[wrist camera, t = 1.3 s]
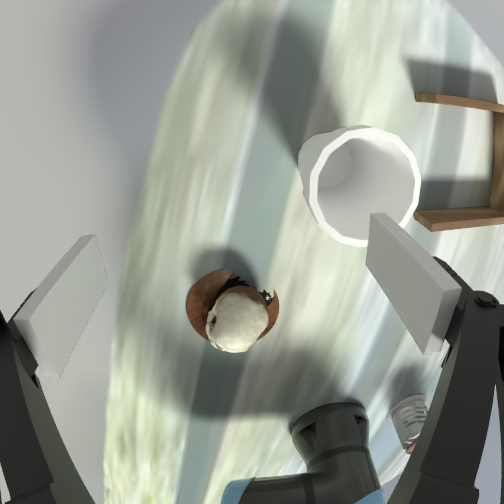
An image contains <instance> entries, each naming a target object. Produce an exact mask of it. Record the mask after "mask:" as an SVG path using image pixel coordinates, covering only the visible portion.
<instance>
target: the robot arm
mask: <svg viewBox="0 0 504 504" xmlns="http://www.w3.org/2000/svg"><path fill="white" fill-rule="evenodd" d="M366 266H367V267H368V269H369V270H370V272H371V273H372V275H373V276H374V278H375V279H376V281H377V282H378V284H379V285H380V287H381V288H382V290H383V291H384V293H385V294H386V296H387V297H388V299H389V300H390V302H391V303H392V305H393V307H394V308H395V310H396V311H397V313H398V314H399V316H400V318H401V319H402V321H403V322H404V324H405V326H406V327H407V329H408V331H409V332H410V334H411V335H412V337H413V339H414V340H415V342H416V344H417V345H418V347H419V349H420V350H421V352H422V354H423V355H426V354H430V353H434V352H438V351H440V350H441V348H442V345H443V342H444V340H445V339H446V340H447V342H448V343H449V344H450V346H449V349H448V351H447V354H446V356H445V358H444V361H443V363H442V365H441V367H442V368H443V369H442V372H441V375H440V378H439V382H438V385H437V388H436V391H435V394H434V397H433V400H432V403H431V406H430V408H429V411H428V414H427V417H426V419H425V422H424V425H423V427H422V430H421V432H420V435H419V437H418V440H417V442H416V444H415V447H414V449H413V451H412V454H411V456H410V458H409V460H408V462H407V465H406V467H405V469H404V471H403V473H402V475H401V477H400V479H399V481H398V483H397V485H396V487H395V489H394V491H393V493H392V495H391V497H390V499H389V500H388V502H387V504H477V502H478V498H479V489H477V488H475V487H474V482H475V478H476V475H477V471H478V468H479V464H480V461H481V457H482V453H483V449H484V444H485V440H486V436H487V431H488V426H489V420H490V415H491V410H492V404H493V397H494V390H495V384H496V391H497V399H498V408H499V419H500V432H501V453H502V454H501V457H502V478H501V479H502V481H501V503H500V504H504V304H499V301H498V300H497V299H496V298H495V297H494V296H493V295H491V294H489V293H487V292H484V291H479V290H478V291H473V290H472V289H471V288H470V287H469V286H468V284H467V283H466V282H465V281H464V280H463V279H462V278H461V277H460V276H459V275H458V276H457V273H456V272H455V271H454V270H452V268H451V267H450V266H449V265H448V264H447V263H446V262H444V261H443V260H441V259H439V258H437V257H432V256H431V255H430V254H429V253H428V252H427V251H426V250H425V249H424V248H422V247H421V246H420V245H419V244H418V243H417V242H416V241H415V240H414V239H413V238H412V237H411V236H410V235H409V234H408V233H407V232H406V231H405V230H404V229H402V228H401V227H400V226H399V225H398V224H397V223H396V222H395V221H394V220H393V219H392V218H390V217H389V216H388V215H387V214H386V213H385V212H384V213H371V214H370V226H369V237H368V246H367V255H366ZM108 284H109V281H108V278H107V275H106V271H105V268H104V265H103V261H102V258H101V254H100V251H99V247H98V243H97V239H96V235H86V236H82V237H81V238H80V239H79V240H78V241H77V242H76V243H75V244H74V245H73V247H72V248H71V249H70V250H69V251H68V252H67V253H66V254H65V256H64V257H63V258H62V259H61V260H60V261H59V262H58V264H57V265H56V266H55V267H54V268H53V270H52V271H51V272H50V273H49V274H48V275H47V277H46V278H45V279H44V280H43V281H42V283H41V284H40V285H39V286H38V288H36V289H35V290H34V291H32V292H31V293H30V294H29V296H28V297H27V298H26V299H25V302H23V303H22V304H21V306H20V308H18V310H17V311H16V312H15V313H14V315H13V316H12V317H11V319H10V320H9V321H8V323H6V321H5V319H4V317H3V315H2V313H1V311H0V463H1V467H2V470H3V474H4V477H5V480H6V484H7V487H8V490H9V493H10V497H11V500H10V501H8V502H5V504H95V502H94V501H93V499H92V497H91V496H90V494H89V492H88V490H87V488H86V487H85V485H84V483H83V481H82V480H81V477H80V476H79V474H78V472H77V470H76V468H75V466H74V464H73V462H72V460H71V458H70V456H69V454H68V452H67V449H66V447H65V445H64V443H63V441H62V438H61V436H60V434H59V431H58V430H57V427H56V424H55V422H54V419H53V417H52V414H51V412H50V409H49V407H48V404H47V401H46V399H45V396H44V393H43V390H42V387H41V385H40V381H39V379H38V377H37V375H36V374H35V370H36V369H37V367H38V366H39V367H40V369H41V371H42V372H43V374H44V376H46V377H54V378H61V375H62V373H63V371H64V369H65V367H66V365H67V363H68V361H69V359H70V356H71V354H72V352H73V350H74V348H75V346H76V344H77V342H78V340H79V338H80V336H81V334H82V332H83V330H84V328H85V326H86V325H87V323H88V320H89V319H90V317H91V315H92V313H93V311H94V310H95V307H96V306H97V304H98V302H99V300H100V299H101V297H102V295H103V293H104V291H105V290H106V288H107V286H108ZM291 434H292V440H293V444H294V446H295V447H296V449H297V451H298V452H299V454H300V456H301V457H302V459H303V460H304V462H305V464H306V466H307V472H308V473H302V474H294V475H285V476H275V477H262V478H256V477H252V478H250V479H241V480H234V481H231V482H230V483H229V484H228V485H227V486H226V488H225V490H224V492H223V495H222V499H221V504H385V503H384V498H383V494H382V493H383V490H382V489H381V486H380V483H379V480H378V477H377V473H376V470H375V467H374V464H373V461H372V458H371V455H370V452H369V449H368V440H369V419H368V417H367V414H366V411H365V410H364V409H363V408H362V407H361V406H359V405H356V404H352V403H337V404H331V405H326V406H323V407H320V408H317V409H315V410H312V411H310V412H308V413H307V414H305V415H304V416H302V417H301V418H300V419H298V420H297V421H296V423H295V424H294V425H293V427H292V431H291ZM0 504H2V501H1V492H0Z"/></svg>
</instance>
